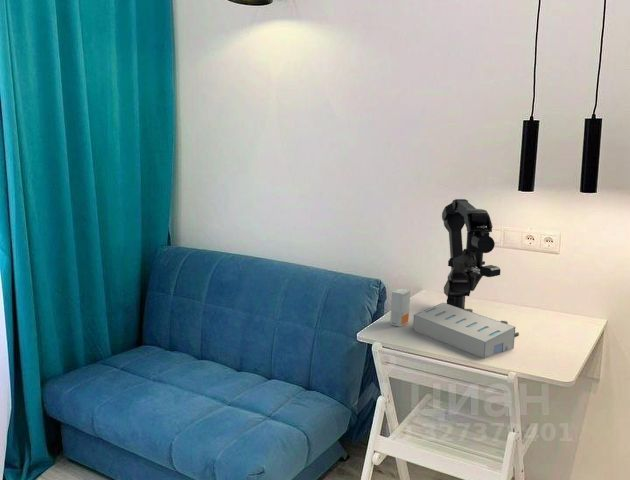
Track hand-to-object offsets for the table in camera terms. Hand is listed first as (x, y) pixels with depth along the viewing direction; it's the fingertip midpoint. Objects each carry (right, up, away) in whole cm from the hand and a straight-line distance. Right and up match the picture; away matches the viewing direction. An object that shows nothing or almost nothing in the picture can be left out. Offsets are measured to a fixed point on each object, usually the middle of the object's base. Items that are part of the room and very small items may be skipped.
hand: (471, 290), depth 207 cm
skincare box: (-25, -12, +3) cm, 28 cm away
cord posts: (+4, -13, +1) cm, 13 cm away
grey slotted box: (-6, -15, -10) cm, 20 cm away
